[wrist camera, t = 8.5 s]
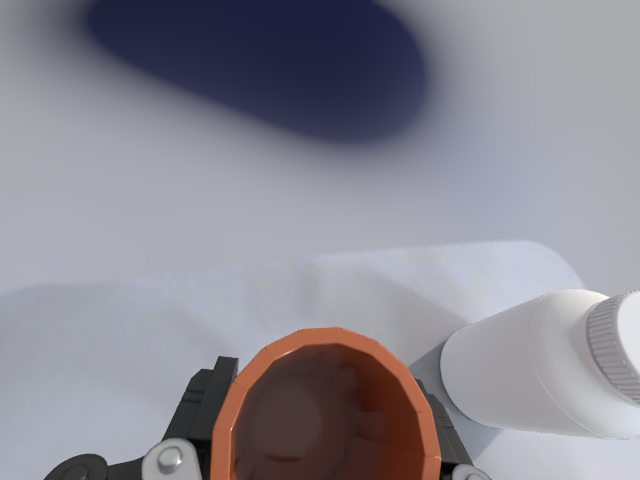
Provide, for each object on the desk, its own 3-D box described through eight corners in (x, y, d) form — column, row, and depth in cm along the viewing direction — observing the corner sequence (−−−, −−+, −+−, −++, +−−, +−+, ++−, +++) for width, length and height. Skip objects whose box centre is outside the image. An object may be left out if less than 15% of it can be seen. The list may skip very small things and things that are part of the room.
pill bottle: (447, 431, 26) (638, 452, 12) (429, 326, 29) (561, 258, 16) (539, 427, 27) (806, 444, 13) (511, 327, 30) (698, 263, 17)
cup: (212, 436, 17) (155, 464, 8) (293, 343, 20) (317, 288, 11) (302, 532, 16) (350, 689, 7) (375, 419, 18) (477, 427, 10)
